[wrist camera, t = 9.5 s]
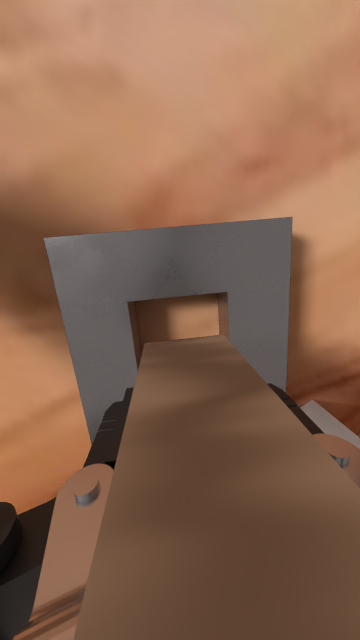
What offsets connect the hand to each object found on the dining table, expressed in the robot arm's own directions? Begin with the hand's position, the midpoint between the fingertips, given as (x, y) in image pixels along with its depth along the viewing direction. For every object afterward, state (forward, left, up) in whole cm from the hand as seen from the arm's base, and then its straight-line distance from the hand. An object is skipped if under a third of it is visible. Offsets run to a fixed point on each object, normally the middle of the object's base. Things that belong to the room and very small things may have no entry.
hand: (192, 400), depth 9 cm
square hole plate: (0, 0, -10) cm, 10 cm away
